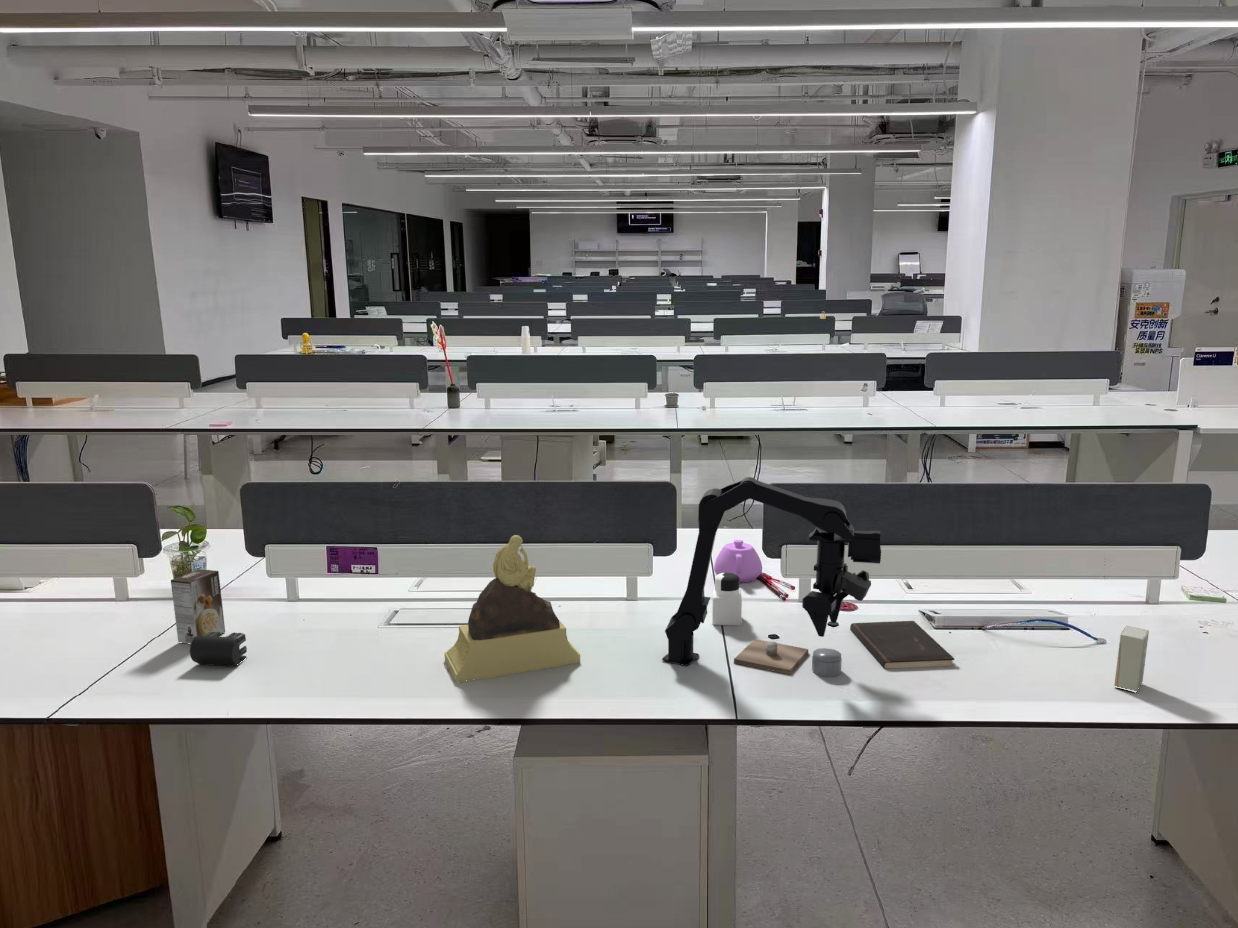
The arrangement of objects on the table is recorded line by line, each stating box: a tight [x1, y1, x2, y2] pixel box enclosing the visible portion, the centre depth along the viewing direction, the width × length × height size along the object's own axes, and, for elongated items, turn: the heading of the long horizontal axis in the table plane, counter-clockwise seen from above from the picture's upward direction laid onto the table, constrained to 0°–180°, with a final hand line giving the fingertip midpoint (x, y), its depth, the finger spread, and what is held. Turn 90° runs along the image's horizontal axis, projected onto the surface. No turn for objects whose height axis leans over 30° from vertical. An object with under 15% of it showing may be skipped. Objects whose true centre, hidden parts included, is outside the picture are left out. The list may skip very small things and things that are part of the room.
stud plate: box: [733, 638, 809, 675], centre depth 209 cm, size 13×13×4 cm
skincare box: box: [1113, 625, 1150, 691], centre depth 193 cm, size 6×4×12 cm
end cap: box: [189, 632, 248, 667], centre depth 209 cm, size 10×7×7 cm
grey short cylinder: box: [811, 647, 842, 678], centre depth 202 cm, size 6×6×4 cm
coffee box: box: [170, 568, 226, 644], centre depth 223 cm, size 9×6×16 cm
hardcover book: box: [849, 620, 955, 670], centre depth 215 cm, size 16×23×2 cm
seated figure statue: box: [444, 534, 581, 684], centre depth 206 cm, size 28×13×30 cm, turn 111°
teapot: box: [713, 539, 763, 583], centre depth 267 cm, size 14×20×11 cm
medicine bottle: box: [711, 573, 743, 627], centre depth 232 cm, size 7×7×12 cm
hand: (827, 629), depth 201 cm, fingers open, 9 cm apart
